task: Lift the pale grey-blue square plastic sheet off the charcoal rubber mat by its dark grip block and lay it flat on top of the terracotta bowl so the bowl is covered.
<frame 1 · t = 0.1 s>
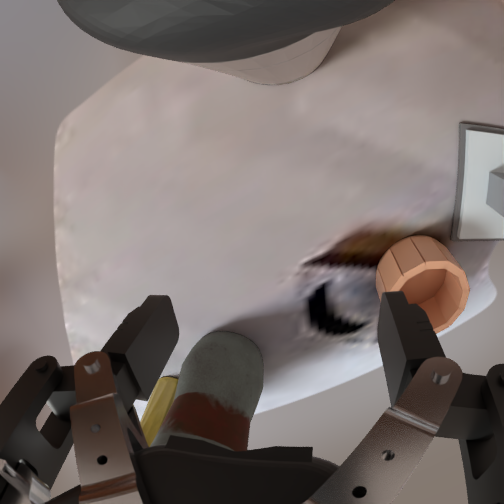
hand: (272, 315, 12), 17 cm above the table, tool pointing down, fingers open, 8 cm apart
bottle: (228, 354, 37), on the table
bowl: (413, 272, 29), on the table
mat: (502, 186, 23), on the table
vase: (176, 389, 42), on the table
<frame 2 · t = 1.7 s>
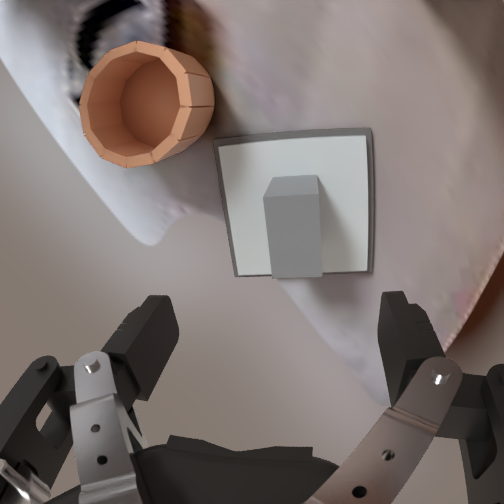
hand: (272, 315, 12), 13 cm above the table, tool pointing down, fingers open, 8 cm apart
bowl: (163, 102, 21), on the table
mat: (298, 206, 23), on the table
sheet: (298, 207, 23), resting on mat
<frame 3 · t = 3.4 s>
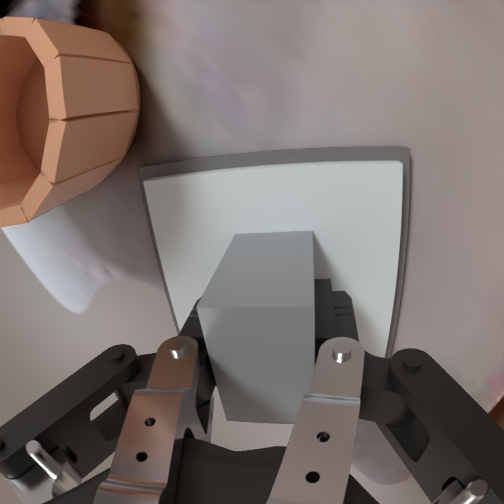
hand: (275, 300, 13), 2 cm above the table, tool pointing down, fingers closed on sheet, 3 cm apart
bowl: (70, 109, 12), on the table
mat: (279, 276, 14), on the table
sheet: (279, 281, 14), resting on mat, touching gripper
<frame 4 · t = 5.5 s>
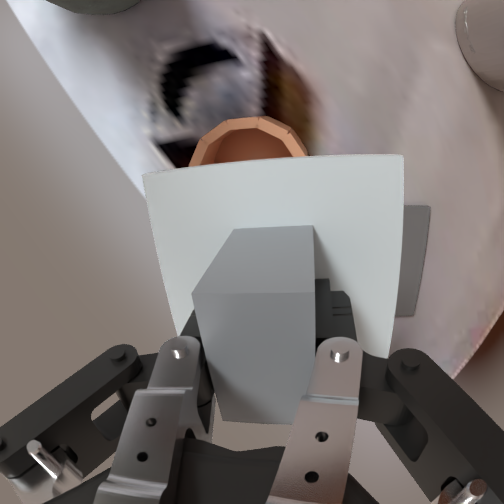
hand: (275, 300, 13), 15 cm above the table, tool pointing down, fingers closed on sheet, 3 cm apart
bowl: (257, 165, 25), on the table
mat: (365, 264, 28), on the table
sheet: (279, 279, 14), point 14 cm above the table, touching gripper
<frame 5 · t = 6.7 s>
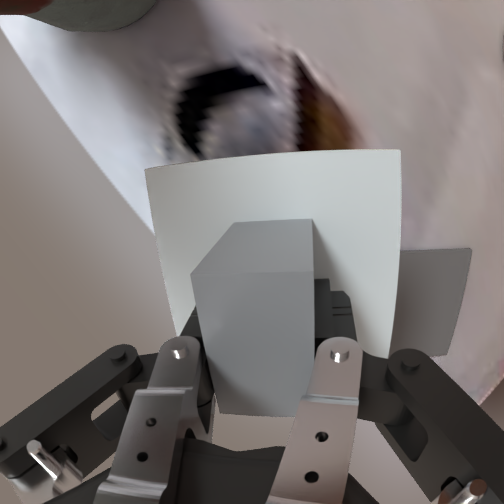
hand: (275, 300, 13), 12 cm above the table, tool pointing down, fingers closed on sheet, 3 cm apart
mat: (403, 309, 25), on the table
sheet: (278, 274, 14), point 10 cm above the table, tilted 5°, touching gripper
when the fingers open (8 cm above the table, at t = 7.7 s): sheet drops 2 cm, resting on bowl.
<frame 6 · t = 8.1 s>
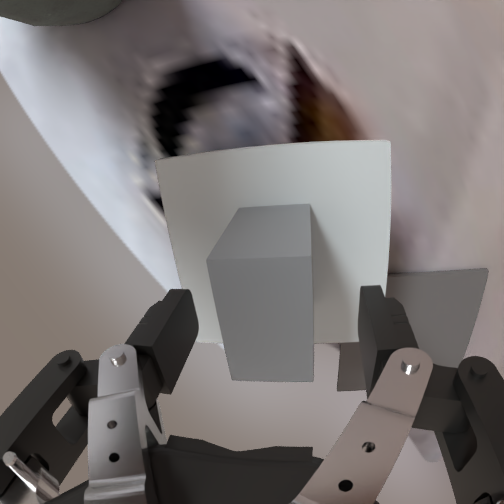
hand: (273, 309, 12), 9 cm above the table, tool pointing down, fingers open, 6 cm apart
mat: (410, 335, 22), on the table
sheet: (280, 253, 15), point 5 cm above the table, touching bowl
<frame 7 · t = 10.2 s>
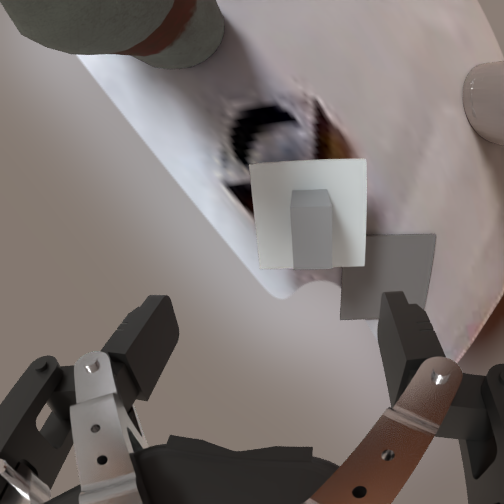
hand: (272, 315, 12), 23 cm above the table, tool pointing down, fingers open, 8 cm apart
bottle: (187, 32, 27), on the table
mat: (387, 278, 36), on the table
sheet: (310, 215, 29), point 5 cm above the table, touching bowl
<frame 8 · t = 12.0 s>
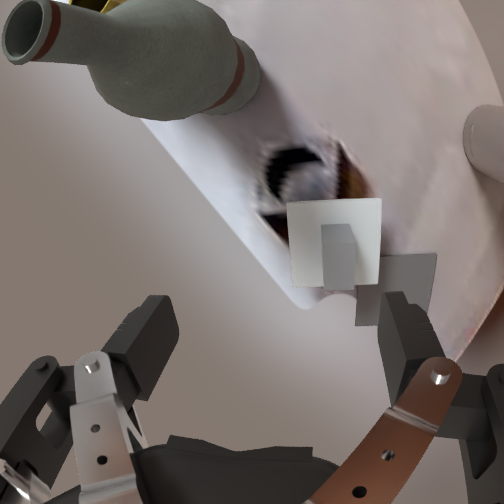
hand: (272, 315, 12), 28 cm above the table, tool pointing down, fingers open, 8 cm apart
bottle: (225, 77, 33), on the table
mat: (395, 290, 41), on the table
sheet: (335, 243, 35), point 5 cm above the table, touching bowl
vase: (155, 25, 31), on the table
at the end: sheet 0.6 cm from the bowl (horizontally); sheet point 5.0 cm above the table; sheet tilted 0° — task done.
